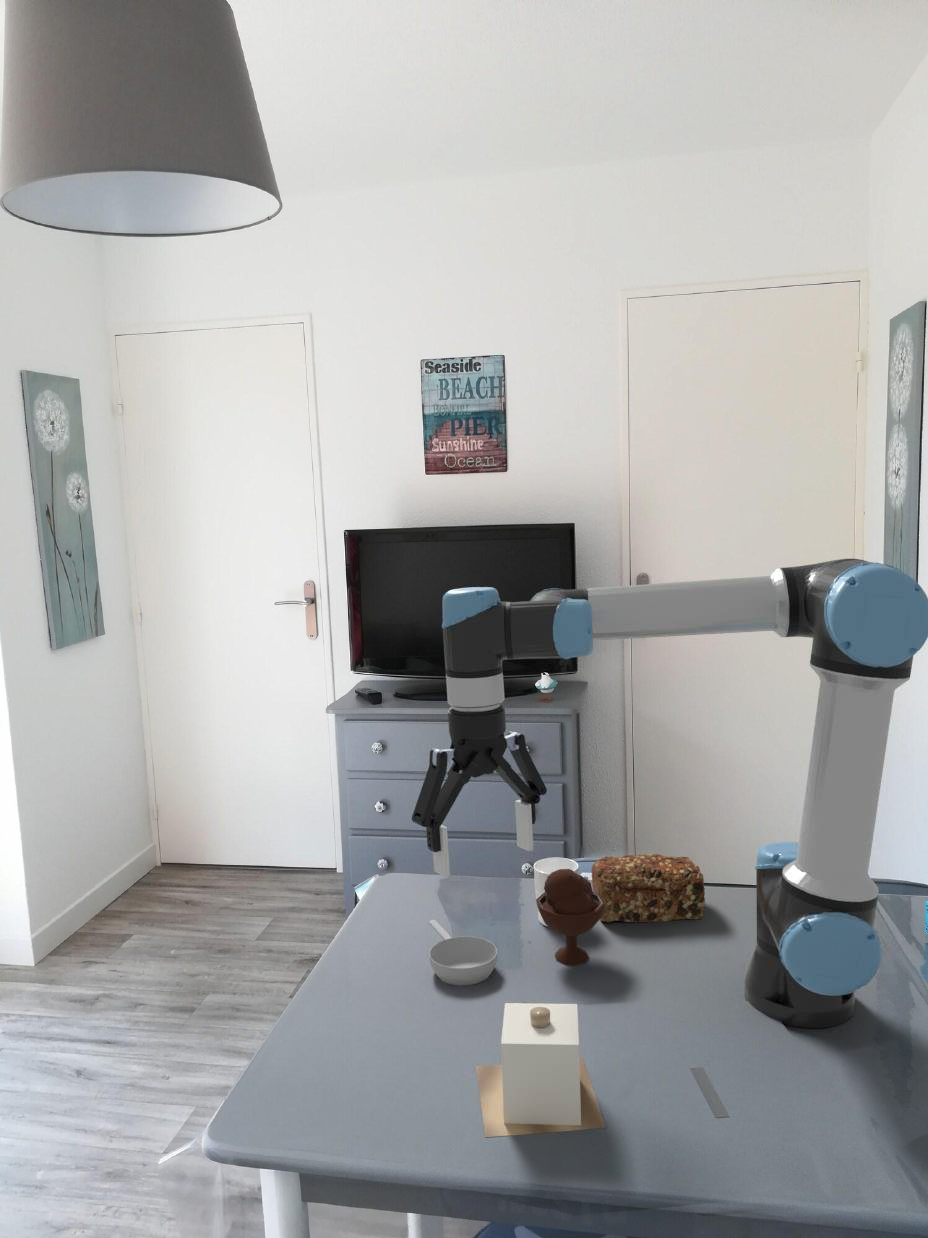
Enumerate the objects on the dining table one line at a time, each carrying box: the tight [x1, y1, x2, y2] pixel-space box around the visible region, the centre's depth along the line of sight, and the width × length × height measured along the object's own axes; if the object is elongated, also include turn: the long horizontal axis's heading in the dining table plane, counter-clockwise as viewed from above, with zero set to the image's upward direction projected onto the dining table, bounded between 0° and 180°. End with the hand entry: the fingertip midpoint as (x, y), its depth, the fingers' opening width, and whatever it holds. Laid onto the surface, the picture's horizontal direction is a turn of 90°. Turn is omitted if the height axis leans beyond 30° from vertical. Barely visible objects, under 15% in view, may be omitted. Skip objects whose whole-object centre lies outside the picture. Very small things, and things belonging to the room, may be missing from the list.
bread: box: [591, 853, 706, 924], centre depth 170 cm, size 19×11×10 cm, turn 90°
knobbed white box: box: [500, 1002, 581, 1125], centre depth 115 cm, size 9×9×11 cm
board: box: [475, 1057, 607, 1139], centre depth 117 cm, size 14×14×1 cm
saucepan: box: [428, 919, 498, 986], centre depth 154 cm, size 11×18×4 cm, turn 25°
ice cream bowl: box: [535, 869, 605, 966], centre depth 154 cm, size 11×11×15 cm
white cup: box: [532, 856, 580, 928], centre depth 168 cm, size 8×8×10 cm
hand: (484, 860), depth 128 cm, fingers open, 13 cm apart
